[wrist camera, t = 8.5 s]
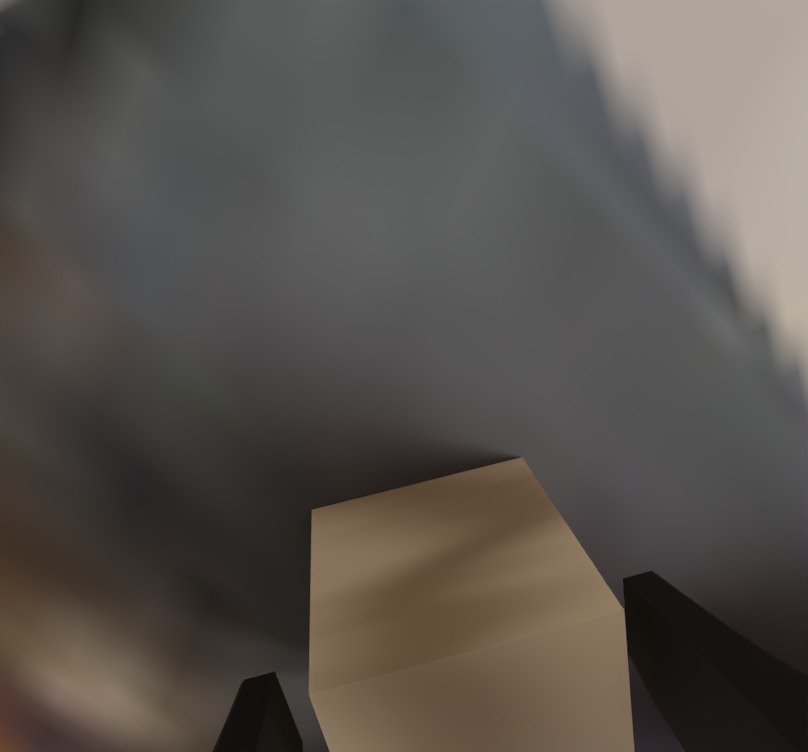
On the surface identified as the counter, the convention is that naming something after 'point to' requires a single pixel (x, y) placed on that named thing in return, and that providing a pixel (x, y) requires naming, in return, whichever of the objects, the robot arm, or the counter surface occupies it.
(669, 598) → the robot arm
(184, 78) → the counter surface
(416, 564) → the oak cube
